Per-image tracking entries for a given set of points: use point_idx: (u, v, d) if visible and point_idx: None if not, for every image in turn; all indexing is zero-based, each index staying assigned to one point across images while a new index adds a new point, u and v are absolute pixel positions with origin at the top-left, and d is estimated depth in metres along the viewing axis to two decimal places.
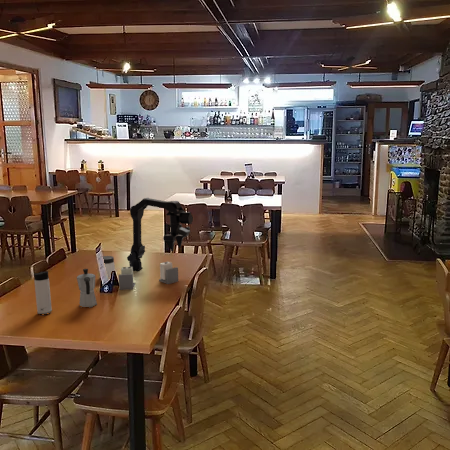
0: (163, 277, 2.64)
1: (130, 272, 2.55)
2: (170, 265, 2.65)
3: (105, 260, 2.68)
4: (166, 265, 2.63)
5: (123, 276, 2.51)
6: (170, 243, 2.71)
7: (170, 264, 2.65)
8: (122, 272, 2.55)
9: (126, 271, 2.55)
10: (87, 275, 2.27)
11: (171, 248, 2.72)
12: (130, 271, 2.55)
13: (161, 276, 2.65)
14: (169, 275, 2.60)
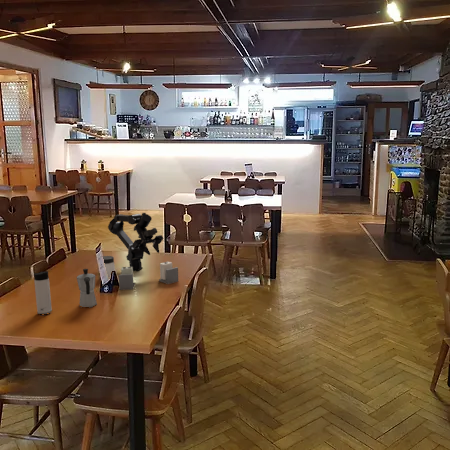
0: (163, 277, 2.64)
1: (130, 272, 2.55)
2: (170, 265, 2.65)
3: (105, 260, 2.68)
4: (166, 265, 2.63)
5: (123, 276, 2.51)
6: (144, 248, 2.72)
7: (170, 264, 2.65)
8: (122, 272, 2.55)
9: (126, 271, 2.55)
10: (87, 275, 2.27)
11: (147, 252, 2.71)
12: (130, 271, 2.55)
13: (161, 276, 2.65)
14: (169, 275, 2.60)
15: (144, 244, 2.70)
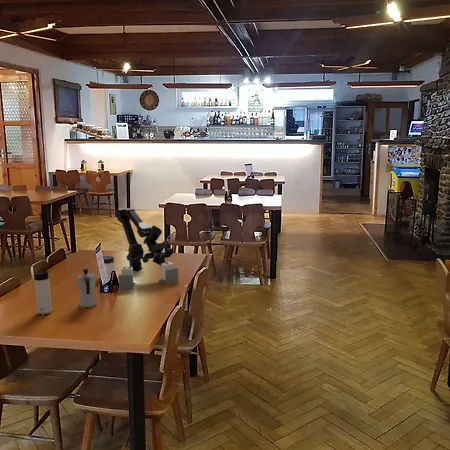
0: (164, 277, 2.63)
1: (130, 272, 2.55)
2: (171, 265, 2.64)
3: (105, 260, 2.68)
4: (167, 265, 2.62)
5: (123, 276, 2.51)
6: (158, 261, 2.68)
7: (171, 264, 2.64)
8: (122, 272, 2.55)
9: (126, 271, 2.55)
10: (87, 275, 2.27)
11: None
12: (130, 271, 2.55)
13: (162, 276, 2.65)
14: (169, 275, 2.60)
15: (159, 257, 2.66)
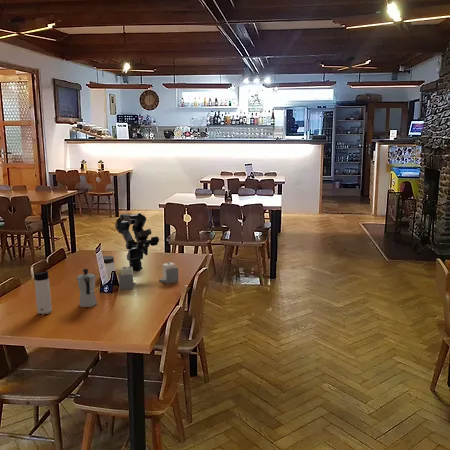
0: None
1: (130, 272, 2.55)
2: (173, 266, 2.63)
3: (105, 260, 2.68)
4: (169, 266, 2.61)
5: (123, 276, 2.51)
6: (141, 248, 2.71)
7: (173, 265, 2.63)
8: (122, 272, 2.55)
9: (126, 271, 2.55)
10: (87, 275, 2.27)
11: (144, 252, 2.70)
12: (130, 271, 2.55)
13: (164, 277, 2.64)
14: (169, 275, 2.60)
15: (141, 244, 2.70)
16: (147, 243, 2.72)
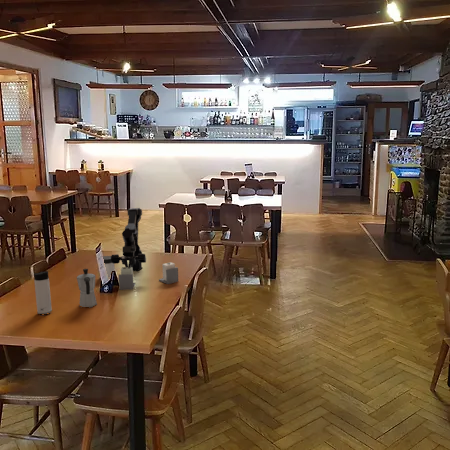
0: None
1: (130, 272, 2.55)
2: (173, 266, 2.63)
3: (105, 260, 2.68)
4: (169, 266, 2.61)
5: (123, 276, 2.51)
6: None
7: (173, 265, 2.63)
8: (122, 272, 2.55)
9: (126, 271, 2.55)
10: (87, 275, 2.27)
11: None
12: (130, 271, 2.55)
13: (164, 277, 2.64)
14: (169, 275, 2.60)
15: (124, 260, 2.61)
16: (130, 260, 2.61)
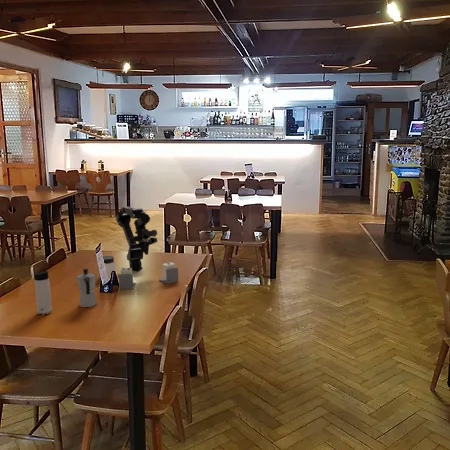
0: None
1: (129, 273, 2.53)
2: (173, 266, 2.63)
3: (105, 260, 2.68)
4: (169, 266, 2.61)
5: (123, 276, 2.51)
6: (143, 246, 2.71)
7: (173, 265, 2.63)
8: (121, 273, 2.53)
9: (125, 272, 2.53)
10: (87, 275, 2.27)
11: (145, 251, 2.71)
12: (129, 272, 2.53)
13: (164, 277, 2.64)
14: (169, 275, 2.60)
15: (145, 243, 2.70)
16: (149, 243, 2.73)
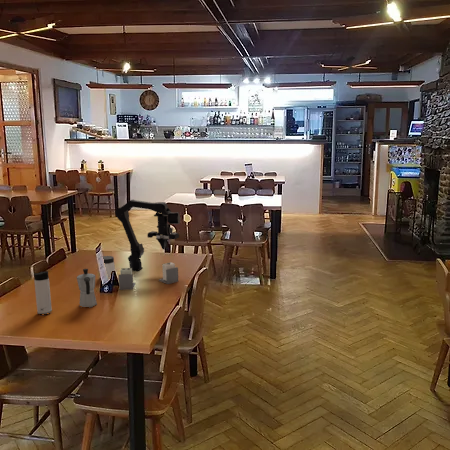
0: None
1: (129, 273, 2.53)
2: (173, 266, 2.63)
3: (105, 260, 2.68)
4: (169, 266, 2.61)
5: (123, 276, 2.51)
6: (165, 241, 2.83)
7: (173, 265, 2.63)
8: (121, 273, 2.53)
9: (125, 272, 2.53)
10: (87, 275, 2.27)
11: (165, 246, 2.84)
12: (129, 272, 2.53)
13: (164, 277, 2.64)
14: (169, 275, 2.60)
15: None
16: None
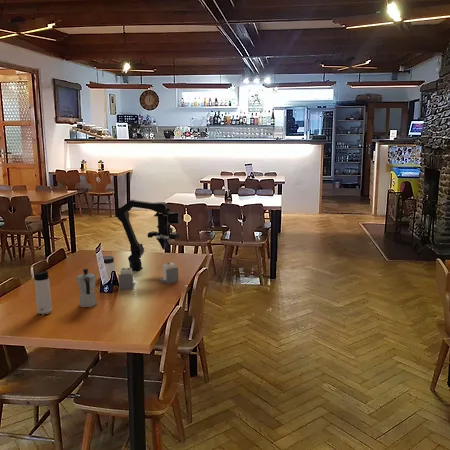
0: None
1: (129, 273, 2.53)
2: (173, 266, 2.63)
3: (105, 260, 2.68)
4: (169, 266, 2.61)
5: (123, 276, 2.51)
6: (165, 241, 2.83)
7: (173, 265, 2.63)
8: (121, 273, 2.53)
9: (125, 272, 2.53)
10: (87, 275, 2.27)
11: (165, 246, 2.84)
12: (129, 272, 2.53)
13: (164, 277, 2.64)
14: (169, 275, 2.60)
15: None
16: None
